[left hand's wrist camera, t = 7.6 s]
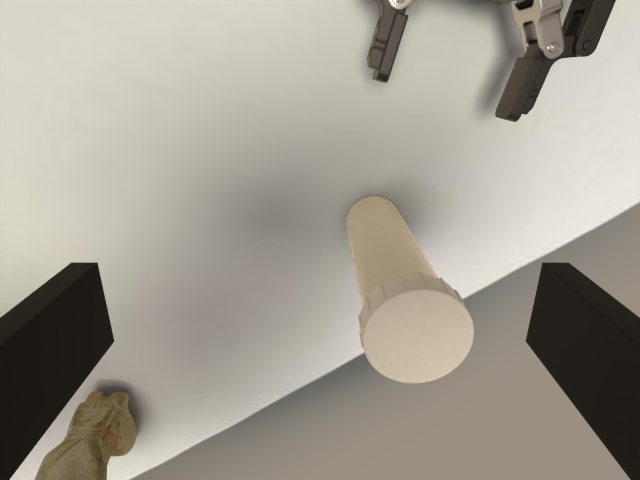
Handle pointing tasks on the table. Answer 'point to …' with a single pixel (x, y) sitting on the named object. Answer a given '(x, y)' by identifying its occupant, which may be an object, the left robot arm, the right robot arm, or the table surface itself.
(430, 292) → the lid
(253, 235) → the table surface
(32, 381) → the left robot arm
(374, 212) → the beige bottle
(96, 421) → the sculpture
